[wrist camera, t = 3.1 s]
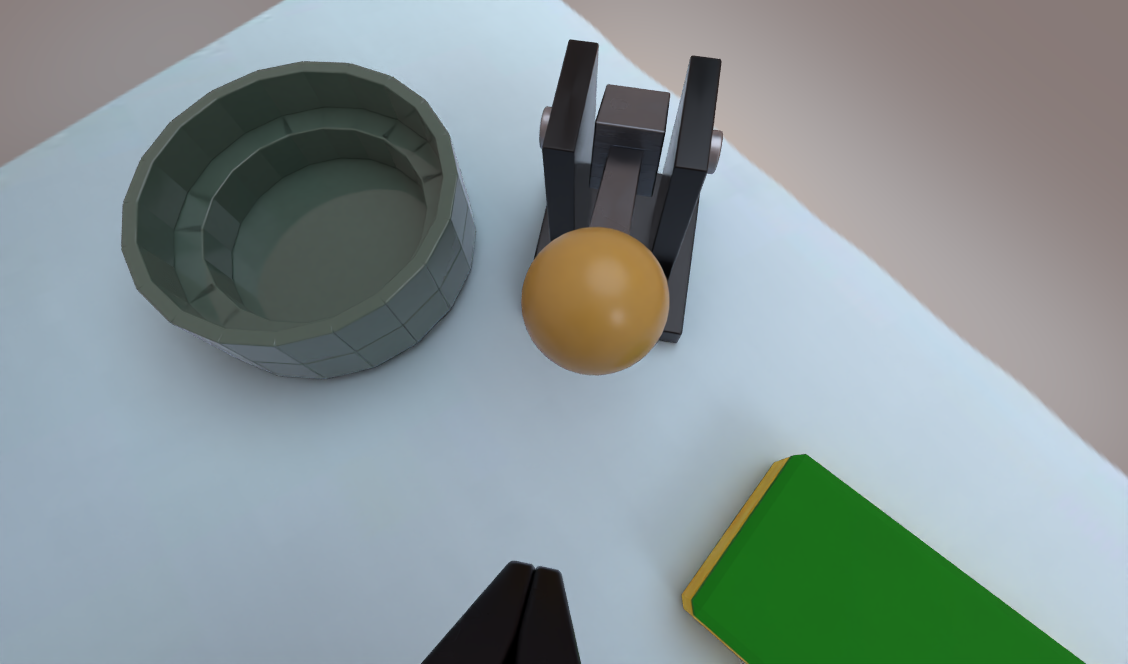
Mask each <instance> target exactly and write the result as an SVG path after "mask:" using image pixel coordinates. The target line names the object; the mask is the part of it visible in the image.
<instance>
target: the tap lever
mask: <svg viewBox="0 0 1128 664" xmlns="http://www.w3.org/2000/svg"><path fill="white" fill-rule="evenodd" d="M669 101H670V93H669V92H661V91H654V90H647V89H639V88H632V87H624V86H617V85H610V84H608V85H607V86H606V89H605V92H604V95H603V99H602V102H601V105H600V108H599V111H598V115H597V118H596V121H595V128H594V138H593V148H592V158H591V168H590V178H589V187H590V188H595V189H599V190H598V194H597V198H596V201H595V205H594V209H593V213H592V217H591V221H590V225H589V227H587V228H581V229H577V230H573V231H570V232H567V233H565V234H563V235H561V236H560V237H558V238H556V239H554V240H553V241H552V242H550V243H549V244H548V245H547V246H546V247H544V248H543V249H542V250H541V252H540V253H539V254H538V255H537V256H536V258H535V259H534V261H533V262H532V264H531V266H530V268H529V270H528V272H527V274H526V277H525V280H524V284H523V288H522V298H521V306H522V315H523V319H524V322H525V326H526V329H527V331H528V333H529V335H530V337H531V339H532V341H533V342H534V344H535V345H536V346H537V348H538V349H539V350H540V351H541V352H542V353H543V354H544V355H545V356H546V357H547V358H548V359H550V360H551V361H552V362H554V363H555V364H557V365H559V366H560V367H562V368H564V369H566V370H569V371H572V372H575V373H579V374H585V375H606V374H611V373H615V372H618V371H621V370H624V369H626V368H628V367H630V366H632V365H633V364H635V363H637V362H638V361H640V360H641V359H642V358H643V357H644V356H646V355H647V354H648V353H649V352H650V350H651V349H652V348H653V347H654V346H655V344H656V343H657V341H658V339H659V338H660V336H661V335H662V332H663V330H664V327H665V324H666V322H667V317H668V312H669V290H668V284H667V280H666V277H665V275H664V272H663V270H662V267H661V266H660V264H659V262H658V261H657V259H656V258H655V256H654V255H653V254H652V252H651V251H650V250H649V249H648V248H646V247H645V246H644V245H643V244H642V243H641V242H640V241H638V240H637V239H635V238H633V237H632V236H630V235H629V234H630V228H631V223H632V217H633V211H634V205H635V200H636V195H641V196H647V197H652V195H653V191H654V186H655V182H656V177H657V172H658V167H659V162H660V157H661V152H662V147H663V142H664V137H665V132H666V124H667V116H668V108H669Z"/></svg>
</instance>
